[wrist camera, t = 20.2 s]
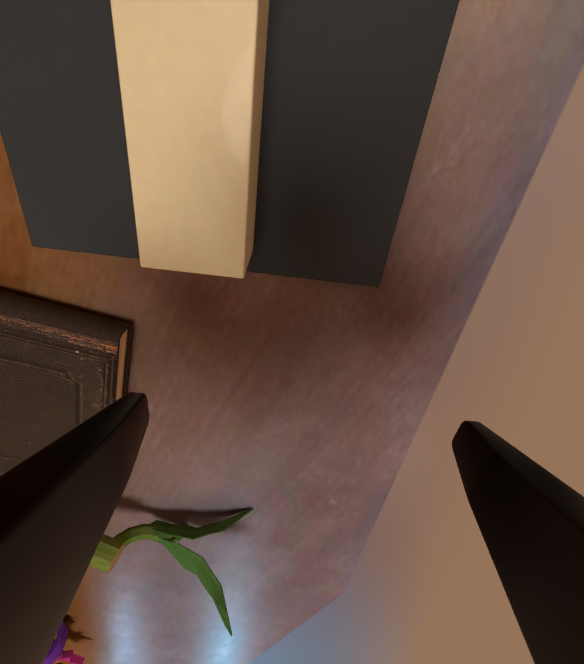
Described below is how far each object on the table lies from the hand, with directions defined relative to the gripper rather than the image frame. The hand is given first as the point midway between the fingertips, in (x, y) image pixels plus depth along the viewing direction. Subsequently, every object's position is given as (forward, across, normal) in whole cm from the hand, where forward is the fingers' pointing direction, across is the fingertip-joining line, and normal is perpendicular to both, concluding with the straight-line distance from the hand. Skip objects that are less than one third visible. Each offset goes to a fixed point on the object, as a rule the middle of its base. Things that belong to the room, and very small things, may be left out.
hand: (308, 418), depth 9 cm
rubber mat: (+12, +5, -7) cm, 15 cm away
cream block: (+9, +5, -13) cm, 17 cm away
